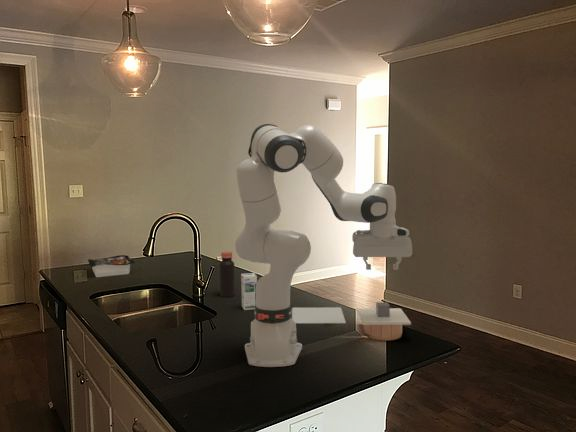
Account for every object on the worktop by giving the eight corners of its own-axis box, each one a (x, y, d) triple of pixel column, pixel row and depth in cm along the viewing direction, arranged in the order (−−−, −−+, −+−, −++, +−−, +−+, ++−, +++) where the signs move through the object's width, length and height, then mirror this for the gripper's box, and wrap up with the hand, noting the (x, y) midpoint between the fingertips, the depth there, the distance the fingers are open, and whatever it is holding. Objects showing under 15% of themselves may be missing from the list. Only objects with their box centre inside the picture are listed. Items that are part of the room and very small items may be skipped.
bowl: (405, 340, 165) (405, 323, 164) (366, 340, 165) (367, 323, 164) (397, 327, 177) (397, 311, 177) (361, 327, 178) (361, 311, 177)
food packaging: (135, 261, 267) (91, 265, 257) (135, 275, 268) (91, 279, 258) (128, 254, 289) (87, 258, 279) (128, 267, 290) (87, 270, 280)
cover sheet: (410, 324, 163) (411, 310, 162) (363, 324, 163) (363, 310, 162) (400, 310, 178) (400, 297, 178) (357, 310, 179) (357, 297, 178)
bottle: (236, 293, 227) (235, 251, 225) (233, 297, 220) (232, 254, 218) (222, 293, 227) (221, 251, 225) (218, 297, 221) (217, 253, 219)
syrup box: (244, 310, 200) (243, 276, 199) (241, 306, 206) (241, 273, 204) (257, 309, 202) (257, 275, 200) (254, 305, 207) (254, 272, 206)
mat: (345, 325, 180) (345, 323, 180) (292, 325, 181) (292, 323, 180) (340, 309, 200) (340, 307, 200) (292, 309, 200) (292, 307, 200)
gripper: (353, 231, 165) (353, 271, 166) (414, 231, 164) (413, 271, 166) (351, 229, 171) (351, 267, 172) (409, 228, 171) (408, 267, 172)
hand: (382, 269), depth 169 cm, fingers open, 8 cm apart
